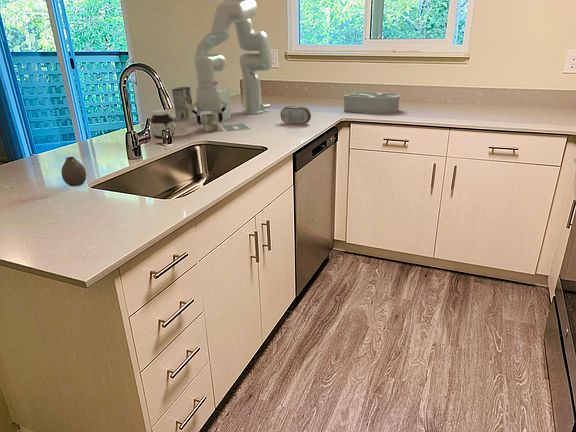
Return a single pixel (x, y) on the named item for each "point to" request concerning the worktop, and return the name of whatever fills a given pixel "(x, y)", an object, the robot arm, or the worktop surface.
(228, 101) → the skincare box
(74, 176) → the vase
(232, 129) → the plate
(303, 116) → the tin
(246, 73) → the robot arm
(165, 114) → the spread jar
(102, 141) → the worktop surface
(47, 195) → the worktop surface
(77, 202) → the worktop surface
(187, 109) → the coffee box
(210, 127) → the sage block
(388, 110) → the compartment organizer box
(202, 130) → the pad
